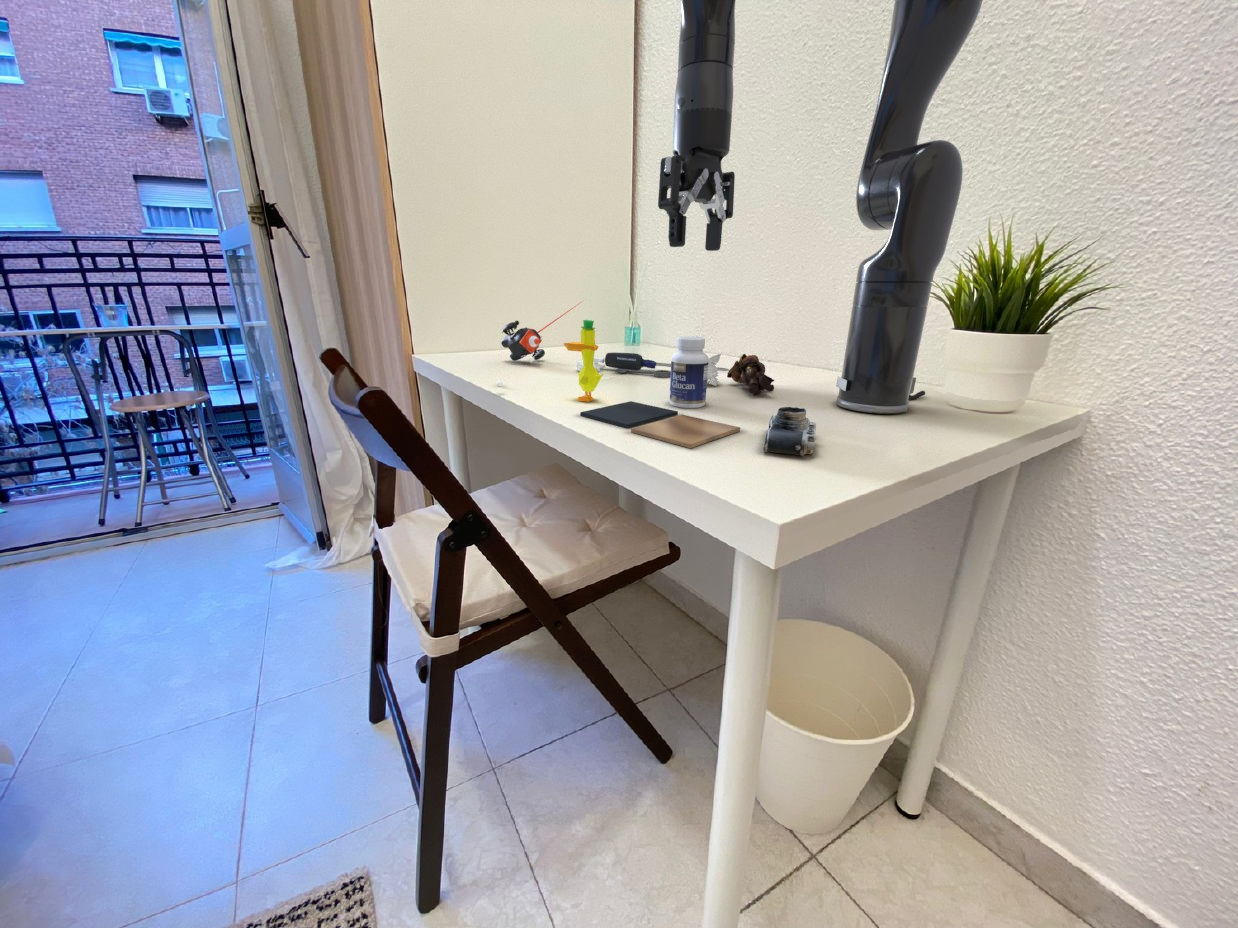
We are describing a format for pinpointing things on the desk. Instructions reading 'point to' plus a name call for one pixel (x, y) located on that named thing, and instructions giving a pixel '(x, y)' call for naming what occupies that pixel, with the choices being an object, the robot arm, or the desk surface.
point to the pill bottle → (689, 373)
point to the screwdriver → (634, 362)
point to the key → (647, 372)
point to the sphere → (499, 383)
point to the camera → (790, 432)
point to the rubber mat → (629, 414)
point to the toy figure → (586, 360)
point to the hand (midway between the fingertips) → (695, 248)
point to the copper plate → (685, 430)
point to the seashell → (713, 369)
